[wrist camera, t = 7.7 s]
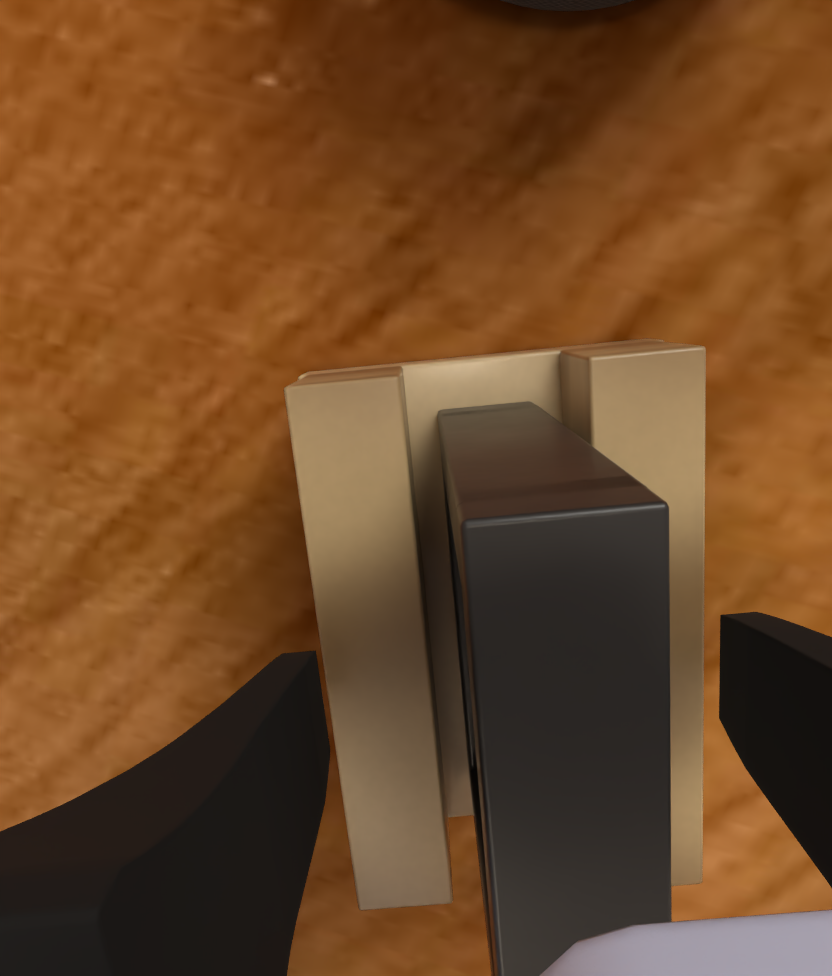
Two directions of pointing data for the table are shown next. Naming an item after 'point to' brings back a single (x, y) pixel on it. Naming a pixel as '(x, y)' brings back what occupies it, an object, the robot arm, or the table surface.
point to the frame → (559, 680)
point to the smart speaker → (567, 4)
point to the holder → (428, 581)
